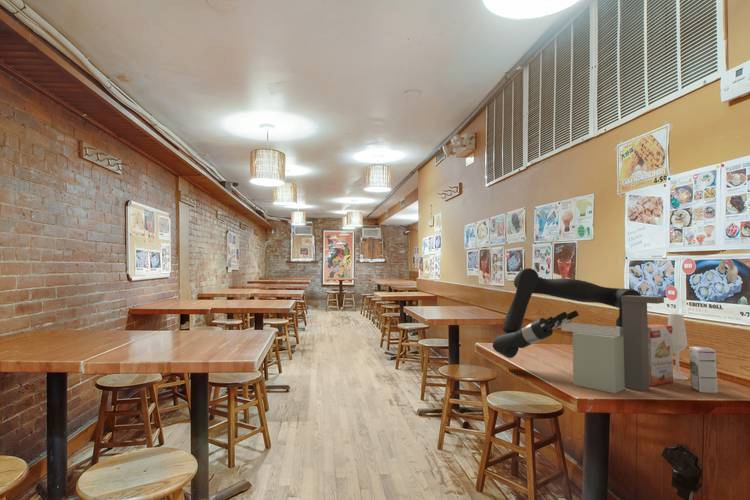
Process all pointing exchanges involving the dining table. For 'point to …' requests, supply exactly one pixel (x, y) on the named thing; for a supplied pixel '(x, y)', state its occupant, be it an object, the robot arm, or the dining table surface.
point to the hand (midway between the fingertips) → (572, 313)
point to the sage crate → (598, 362)
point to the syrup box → (703, 369)
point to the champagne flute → (678, 340)
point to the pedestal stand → (636, 340)
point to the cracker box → (660, 354)
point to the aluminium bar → (592, 329)
